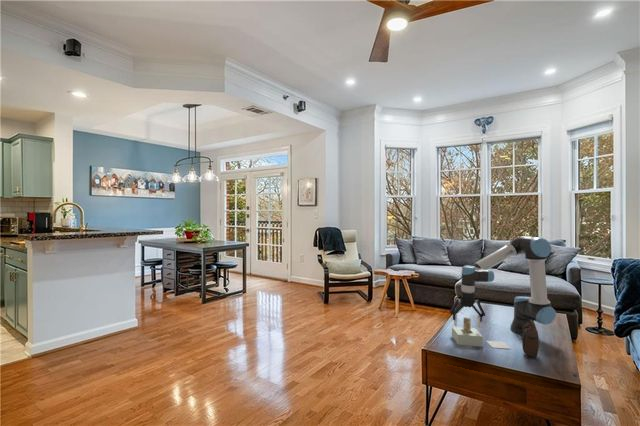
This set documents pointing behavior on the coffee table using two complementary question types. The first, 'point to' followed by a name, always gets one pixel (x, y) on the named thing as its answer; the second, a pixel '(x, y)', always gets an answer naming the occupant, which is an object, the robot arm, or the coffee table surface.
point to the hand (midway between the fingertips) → (466, 326)
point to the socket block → (467, 337)
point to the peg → (467, 325)
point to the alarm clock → (530, 340)
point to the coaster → (497, 344)
